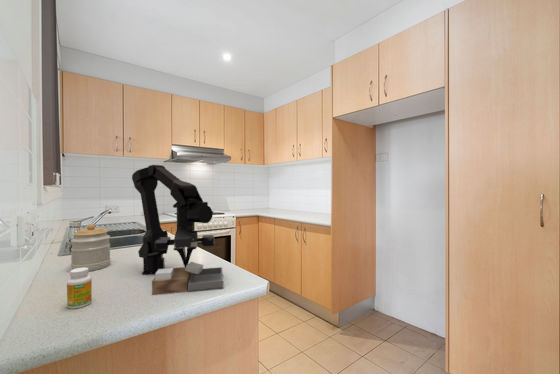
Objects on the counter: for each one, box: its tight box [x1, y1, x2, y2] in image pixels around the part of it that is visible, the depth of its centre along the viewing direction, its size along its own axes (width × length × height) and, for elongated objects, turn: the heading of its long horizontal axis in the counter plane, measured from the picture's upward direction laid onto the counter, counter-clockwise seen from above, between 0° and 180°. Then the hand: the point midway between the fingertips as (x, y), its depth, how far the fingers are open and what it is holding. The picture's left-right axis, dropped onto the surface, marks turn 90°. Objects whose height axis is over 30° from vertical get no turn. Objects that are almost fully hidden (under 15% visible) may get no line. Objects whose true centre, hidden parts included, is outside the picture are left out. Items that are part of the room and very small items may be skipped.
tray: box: [187, 266, 224, 293], centre depth 87 cm, size 10×14×2 cm
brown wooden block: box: [151, 266, 191, 296], centre depth 84 cm, size 10×12×4 cm
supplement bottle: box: [66, 268, 93, 310], centre depth 71 cm, size 5×5×10 cm
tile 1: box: [185, 261, 204, 274], centre depth 88 cm, size 4×4×2 cm
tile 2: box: [154, 267, 175, 280], centre depth 81 cm, size 4×4×2 cm
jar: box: [70, 223, 112, 272], centre depth 104 cm, size 13×13×18 cm
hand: (186, 266), depth 88 cm, fingers closed
